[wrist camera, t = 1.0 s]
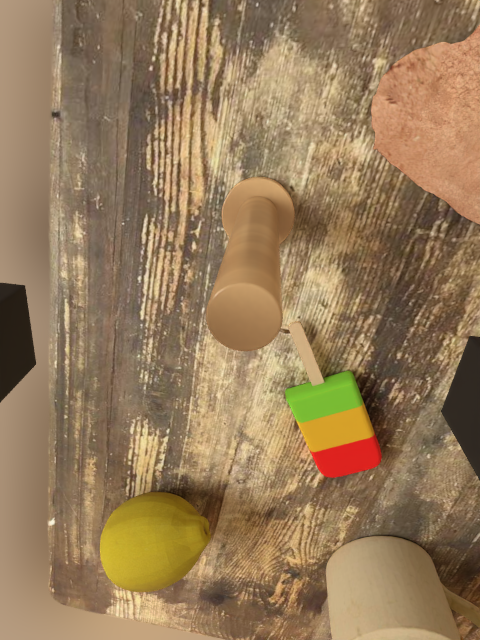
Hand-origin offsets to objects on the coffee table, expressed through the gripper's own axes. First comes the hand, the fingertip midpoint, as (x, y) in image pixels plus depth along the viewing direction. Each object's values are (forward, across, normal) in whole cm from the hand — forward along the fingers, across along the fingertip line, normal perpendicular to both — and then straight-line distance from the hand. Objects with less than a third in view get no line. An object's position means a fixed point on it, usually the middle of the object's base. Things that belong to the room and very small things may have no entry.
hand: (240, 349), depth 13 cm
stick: (+18, 0, 0) cm, 18 cm away
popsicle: (+18, +7, -14) cm, 24 cm away
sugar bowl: (+18, +18, -34) cm, 42 cm away
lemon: (+18, -6, -29) cm, 34 cm away
